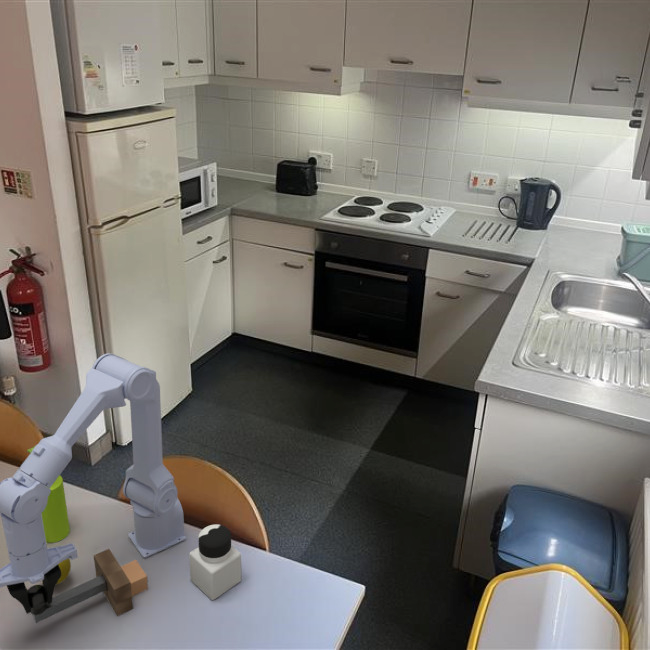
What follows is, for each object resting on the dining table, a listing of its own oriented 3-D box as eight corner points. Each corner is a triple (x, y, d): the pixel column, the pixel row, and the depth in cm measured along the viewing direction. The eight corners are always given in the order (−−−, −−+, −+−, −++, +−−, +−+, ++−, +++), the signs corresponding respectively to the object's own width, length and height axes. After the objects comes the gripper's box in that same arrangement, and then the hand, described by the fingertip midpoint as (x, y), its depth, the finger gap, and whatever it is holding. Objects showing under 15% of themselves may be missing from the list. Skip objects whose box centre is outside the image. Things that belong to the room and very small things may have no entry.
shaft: (113, 576, 119) (110, 552, 117) (118, 586, 117) (116, 561, 115) (29, 614, 111) (24, 589, 108) (34, 626, 109) (29, 600, 106)
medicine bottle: (242, 581, 124) (241, 533, 119) (212, 601, 119) (211, 553, 114) (218, 561, 128) (217, 514, 123) (189, 580, 123) (187, 532, 118)
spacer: (137, 573, 124) (136, 559, 123) (148, 589, 121) (146, 575, 119) (117, 582, 122) (115, 568, 121) (127, 599, 119) (126, 585, 117)
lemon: (62, 596, 118) (56, 564, 115) (35, 590, 119) (29, 558, 116) (78, 574, 123) (73, 542, 120) (52, 568, 124) (47, 537, 121)
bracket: (112, 574, 124) (109, 548, 121) (133, 608, 117) (130, 582, 114) (96, 581, 122) (93, 555, 119) (117, 616, 115) (114, 589, 112)
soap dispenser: (56, 516, 137) (44, 439, 129) (75, 531, 134) (64, 452, 125) (30, 531, 133) (16, 452, 124) (50, 547, 129) (37, 466, 121)
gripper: (-16, 579, 97) (-2, 642, 102) (80, 539, 105) (88, 599, 111) (-27, 551, 102) (-13, 612, 107) (65, 515, 110) (74, 574, 116)
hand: (37, 604), depth 109 cm, fingers closed on shaft, 3 cm apart
